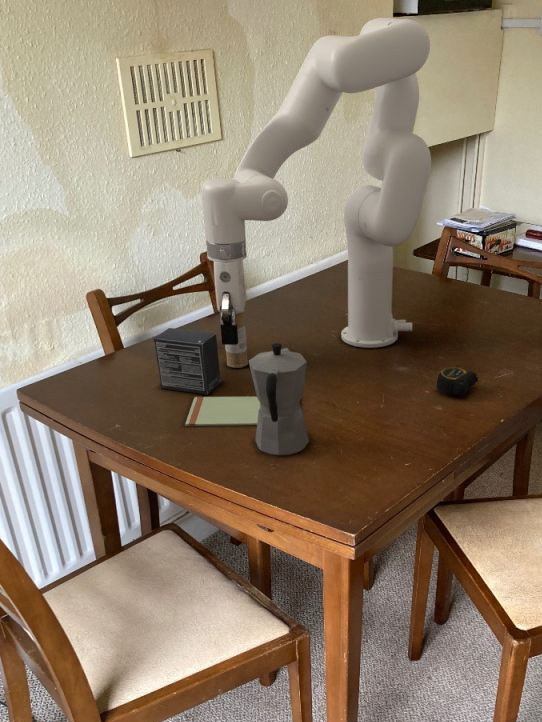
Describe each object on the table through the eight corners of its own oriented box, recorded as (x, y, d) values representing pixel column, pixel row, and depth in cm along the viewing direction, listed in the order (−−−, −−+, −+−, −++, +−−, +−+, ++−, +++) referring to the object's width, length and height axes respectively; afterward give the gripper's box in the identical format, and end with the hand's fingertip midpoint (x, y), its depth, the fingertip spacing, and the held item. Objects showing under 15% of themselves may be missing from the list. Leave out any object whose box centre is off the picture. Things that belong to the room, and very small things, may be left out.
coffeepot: (260, 424, 138) (253, 327, 128) (313, 425, 137) (309, 328, 127) (246, 468, 125) (237, 365, 115) (304, 470, 124) (300, 366, 114)
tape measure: (462, 402, 144) (463, 383, 142) (429, 393, 147) (430, 375, 145) (477, 388, 149) (479, 370, 147) (445, 380, 152) (447, 363, 150)
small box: (223, 382, 153) (218, 331, 147) (208, 396, 148) (202, 344, 142) (176, 375, 156) (169, 325, 150) (159, 388, 151) (151, 337, 145)
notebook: (299, 397, 147) (299, 395, 146) (296, 424, 137) (296, 422, 137) (194, 398, 147) (194, 396, 146) (185, 426, 138) (185, 423, 137)
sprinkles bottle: (240, 358, 162) (235, 295, 155) (252, 365, 160) (247, 301, 152) (222, 364, 160) (215, 300, 153) (234, 371, 157) (228, 306, 150)
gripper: (241, 262, 139) (247, 351, 149) (250, 237, 154) (255, 320, 163) (200, 262, 139) (208, 351, 149) (212, 237, 154) (219, 320, 163)
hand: (233, 335), depth 156 cm, fingers open, 9 cm apart
